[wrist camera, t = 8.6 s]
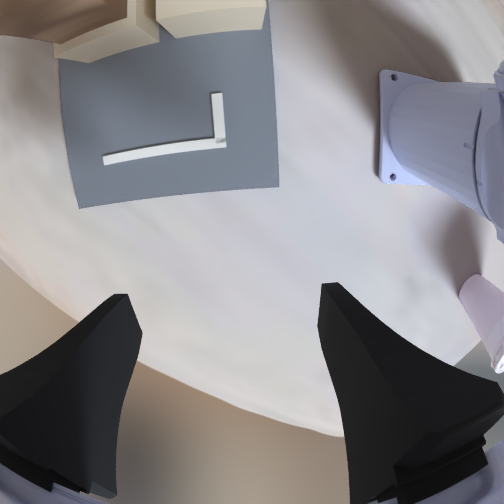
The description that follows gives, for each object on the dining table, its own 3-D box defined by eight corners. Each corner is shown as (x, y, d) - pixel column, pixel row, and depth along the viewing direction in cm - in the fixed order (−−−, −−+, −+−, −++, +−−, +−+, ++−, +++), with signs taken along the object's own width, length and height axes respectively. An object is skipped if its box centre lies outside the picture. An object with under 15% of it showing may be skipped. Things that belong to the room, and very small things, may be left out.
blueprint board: (262, -36, 10) (267, -74, 6) (277, 183, 18) (288, 208, 13) (68, 9, 10) (29, -5, 6) (85, 204, 18) (48, 232, 14)
